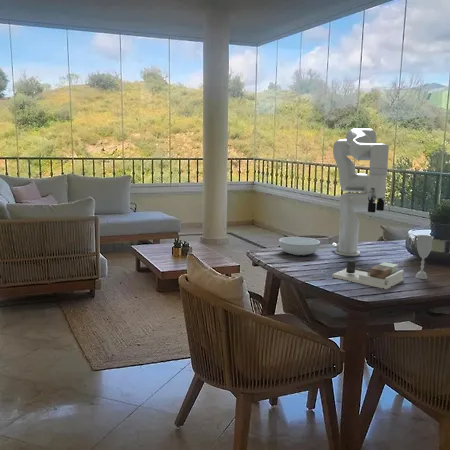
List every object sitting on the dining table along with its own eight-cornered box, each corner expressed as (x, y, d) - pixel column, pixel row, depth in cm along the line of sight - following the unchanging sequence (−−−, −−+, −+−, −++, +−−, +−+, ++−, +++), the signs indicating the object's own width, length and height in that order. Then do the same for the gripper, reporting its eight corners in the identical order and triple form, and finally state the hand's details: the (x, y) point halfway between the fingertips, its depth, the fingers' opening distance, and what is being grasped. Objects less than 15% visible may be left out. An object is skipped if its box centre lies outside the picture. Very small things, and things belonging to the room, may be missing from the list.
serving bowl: (328, 255, 254) (328, 241, 253) (299, 260, 241) (300, 246, 240) (297, 247, 270) (298, 234, 269) (270, 252, 257) (270, 239, 256)
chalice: (421, 280, 211) (425, 238, 208) (409, 276, 217) (412, 235, 214) (433, 278, 215) (437, 237, 211) (421, 274, 221) (424, 234, 217)
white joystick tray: (332, 277, 213) (333, 261, 212) (350, 269, 226) (351, 255, 225) (386, 289, 198) (388, 272, 197) (403, 280, 211) (404, 264, 209)
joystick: (343, 274, 211) (344, 261, 210) (349, 271, 216) (350, 258, 215) (383, 283, 200) (384, 269, 199) (389, 280, 204) (390, 266, 203)
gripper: (377, 171, 227) (375, 209, 229) (362, 172, 213) (359, 212, 216) (393, 172, 222) (391, 210, 225) (379, 173, 209) (376, 213, 211)
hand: (375, 211), depth 220 cm, fingers open, 9 cm apart
